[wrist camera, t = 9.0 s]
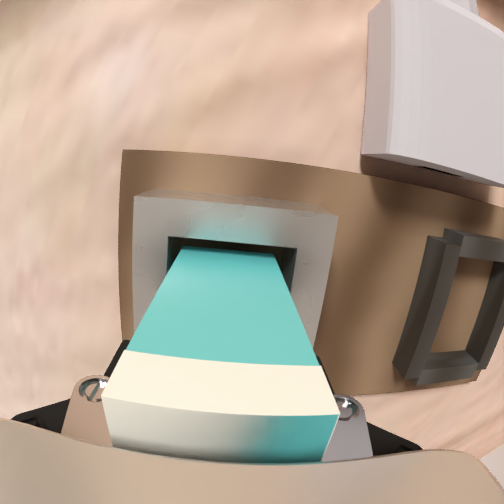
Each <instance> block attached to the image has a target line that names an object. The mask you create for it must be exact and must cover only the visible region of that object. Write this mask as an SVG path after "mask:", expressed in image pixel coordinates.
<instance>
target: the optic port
mask: <svg viewBox="0 0 504 504" xmlns="http://www.w3.org/2000/svg"><path fill="white" fill-rule="evenodd" d="M337 223H338V215H336V214H334V213H332V212H330V211H329V210H327V209H325V208H323V207H321V206H320V205H317V204H310V203H302V202H293V201H285V200H276V199H267V198H258V197H249V196H239V195H229V194H218V193H207V192H195V191H182V190H169V189H152V190H149V191H147V192H144V193H141V194H138V195H136V196H134V207H133V239H132V285H133V316H134V333H135V331H136V329H137V328H138V326H139V324H140V322H141V320H142V318H143V316H144V315H145V313H146V311H147V309H148V307H149V305H150V304H151V302H152V300H153V298H154V296H155V295H156V293H157V291H158V289H159V287H160V286H161V284H162V282H163V280H164V279H165V277H166V275H167V273H168V272H169V270H170V268H171V266H172V265H173V263H174V261H175V259H176V258H177V256H178V254H179V253H180V244H181V237H184V238H195V239H206V240H216V241H227V242H238V243H248V244H259V245H269V246H279V247H283V249H282V256H281V263H280V271H281V273H282V275H283V278H284V280H285V283H286V285H287V287H288V290H289V292H290V295H291V297H292V299H293V302H294V304H295V307H296V309H297V312H298V314H299V316H300V319H301V321H302V324H303V326H304V329H305V331H306V333H307V336H308V338H309V341H310V343H311V346H312V348H313V346H314V342H315V337H316V333H317V328H318V324H319V319H320V315H321V310H322V305H323V300H324V295H325V290H326V285H327V280H328V275H329V269H330V264H331V258H332V253H333V247H334V241H335V235H336V229H337Z"/></svg>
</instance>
